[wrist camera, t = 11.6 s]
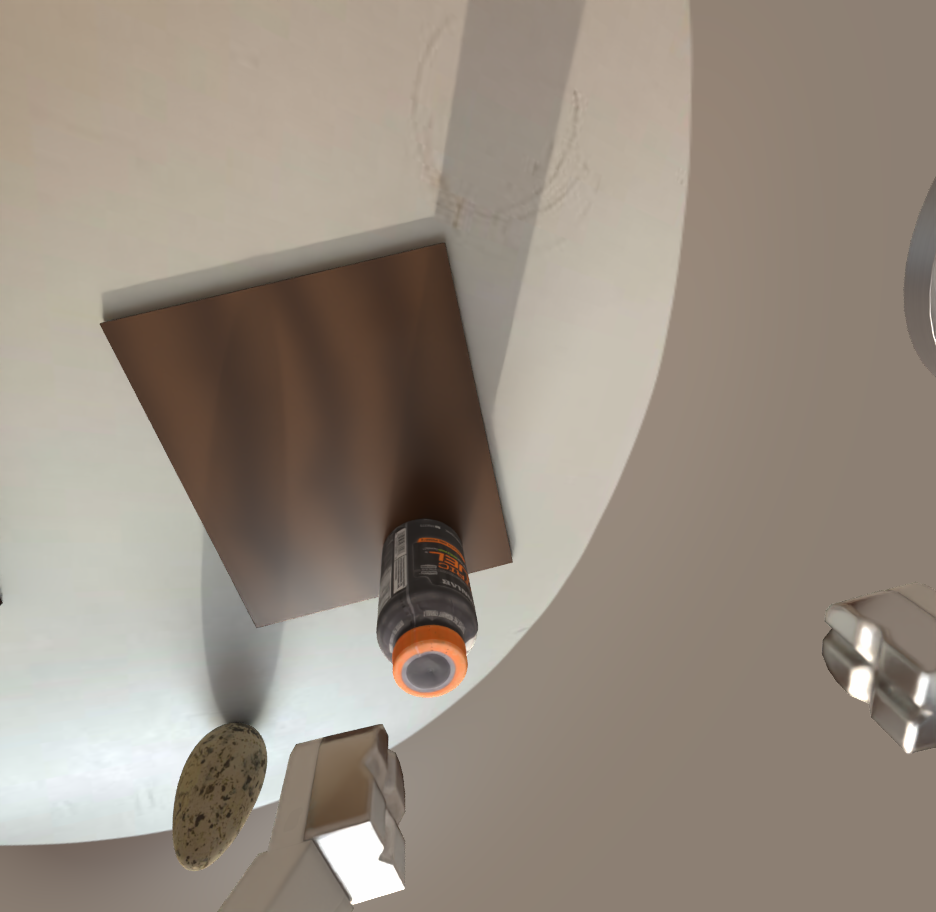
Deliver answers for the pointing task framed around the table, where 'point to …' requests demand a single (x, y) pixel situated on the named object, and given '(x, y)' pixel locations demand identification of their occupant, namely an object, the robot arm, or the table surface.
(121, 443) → the table surface
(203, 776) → the decorative egg
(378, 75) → the table surface
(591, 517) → the table surface
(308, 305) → the walnut mat
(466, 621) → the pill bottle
